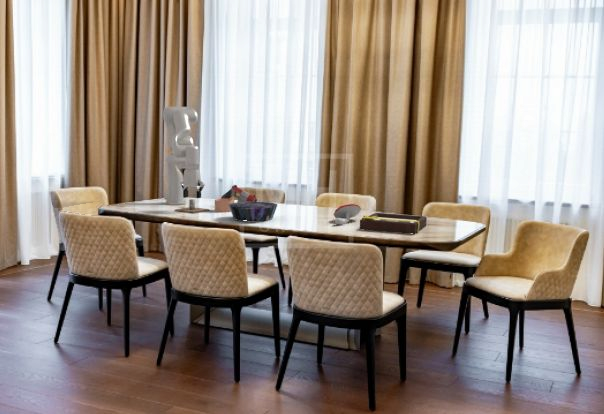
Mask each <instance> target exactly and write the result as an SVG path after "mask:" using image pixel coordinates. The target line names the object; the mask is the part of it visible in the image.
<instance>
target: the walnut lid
mask: <svg viewBox="0 0 604 414" xmlns="http://www.w3.org/2000/svg"><path fill="white" fill-rule="evenodd" d="M188 204H189V205H188V206H189V207H184V208H177V209H174V212H175V211H179V212H178V213H183V212H187V213H186V214H191V213H195V214H199V213H198V212H201V213H205V212H204V211H207V212H211V211H210V209H209V208H202V207H196V199H193V198H191V199H189V203H188Z"/></svg>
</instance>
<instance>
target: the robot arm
mask: <svg viewBox="0 0 604 414" xmlns="http://www.w3.org/2000/svg"><path fill="white" fill-rule="evenodd" d="M162 118H163V121H164V124H165V127H166V137H167V139H166V141H167V148H168V150H169V151H172V153H170V152H169V154H167V155H166V156H165V164H166V171H167V195H166V196H165V197H163V200H166V201H165V202H164V203H165V204H166V205H169V206H170V205H171V206H178V205H179V206H180V205H185V204H186V203H187V202H186V201H185V200H184V198H189V188H190V189H193V188H194V189H196V199H201V198H202V191H203V189H204V187H205V183H204V182H203V181H202V177H201V171H200V163H199V161H200V156H199V155H200V151H199V150H200V149H199V146H197V145H195V144H194V143H195V142H194V140H193V139H194V138H193V137H192V136H190V134H191V133H192V129H191V124H197V123H198V119H199V115H198V112H197V110H195V109H194V108H192V107H190V106H166V107H165V108H164V109H163V112H162ZM180 169H183V170H184V171H183V172H181V170H180Z"/></svg>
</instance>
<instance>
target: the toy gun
mask: <svg viewBox="0 0 604 414" xmlns="http://www.w3.org/2000/svg"><path fill="white" fill-rule="evenodd" d="M237 194H239V196H238V195H237ZM232 197H234V198H236V199H237V201H236V203H237V202H250V201H251V202H258V199H257V198H258V197H256V195H255V194H251V193H249V192H247V191H245V190H244V189H242V188H240V187H238V185H236V184H233V185H232V186H231V188H230V189H229V190H228V191H226V192H225V193H224V194H223V195H222V196H221V197H220V199H232Z"/></svg>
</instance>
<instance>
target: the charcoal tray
mask: <svg viewBox="0 0 604 414" xmlns="http://www.w3.org/2000/svg"><path fill="white" fill-rule="evenodd" d="M211 211H212V210H210V211H209V212H211ZM174 212H176V213H180V212H179V211H175V210H174ZM205 212H208V211H204V212H203V213H205ZM182 213H185V214H188V213H187V212H182ZM199 213H202V212H198V213H197V214H199ZM190 214H191V215H192V214H194V215H196V213H190Z"/></svg>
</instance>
